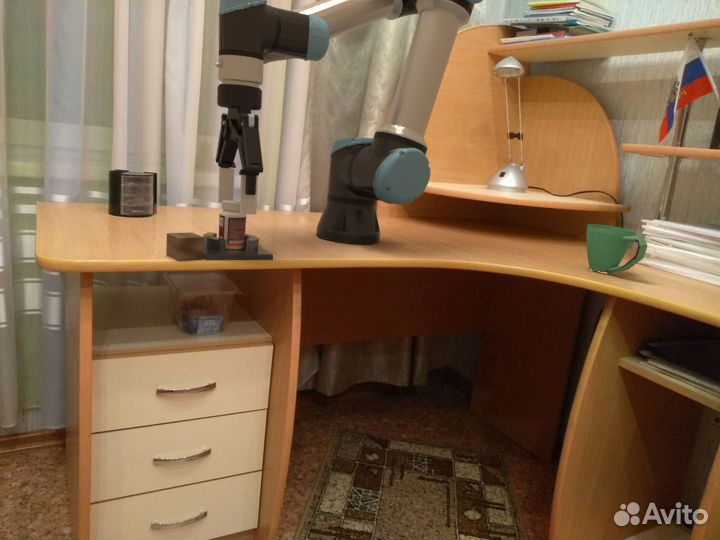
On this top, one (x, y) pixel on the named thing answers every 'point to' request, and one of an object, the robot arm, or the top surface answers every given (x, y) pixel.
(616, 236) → the mug
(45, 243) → the top surface
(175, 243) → the walnut block
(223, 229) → the pill bottle
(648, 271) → the top surface
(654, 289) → the top surface
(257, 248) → the socket
